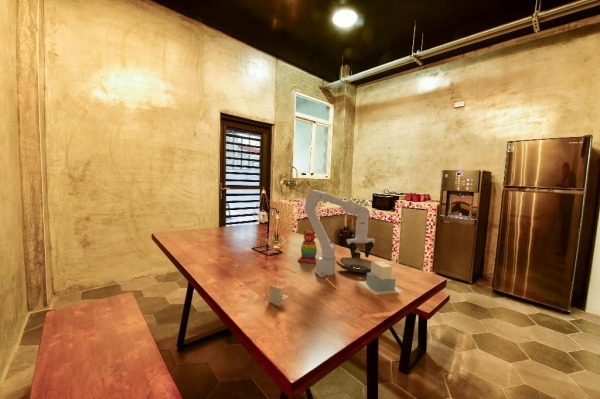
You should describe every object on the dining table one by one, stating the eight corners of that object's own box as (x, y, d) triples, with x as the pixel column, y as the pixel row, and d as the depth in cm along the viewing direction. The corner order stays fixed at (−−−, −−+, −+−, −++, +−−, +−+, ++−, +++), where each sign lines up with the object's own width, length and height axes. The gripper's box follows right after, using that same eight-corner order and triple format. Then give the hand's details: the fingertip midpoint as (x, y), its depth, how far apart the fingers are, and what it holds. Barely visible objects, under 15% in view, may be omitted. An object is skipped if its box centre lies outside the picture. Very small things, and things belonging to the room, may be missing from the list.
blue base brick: (377, 291, 112) (377, 280, 112) (366, 283, 121) (366, 272, 121) (394, 289, 115) (395, 278, 115) (382, 281, 124) (383, 271, 123)
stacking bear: (296, 262, 150) (298, 231, 148) (301, 257, 160) (303, 228, 158) (315, 264, 147) (316, 233, 145) (319, 259, 157) (320, 230, 155)
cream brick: (381, 279, 113) (382, 267, 113) (370, 273, 121) (371, 261, 120) (390, 278, 115) (391, 266, 114) (379, 272, 122) (380, 260, 122)
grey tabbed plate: (274, 299, 104) (275, 281, 103) (288, 305, 100) (288, 286, 99) (268, 302, 101) (269, 284, 101) (282, 308, 97) (283, 289, 97)
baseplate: (375, 297, 109) (375, 294, 109) (358, 283, 123) (358, 281, 123) (403, 294, 114) (403, 291, 113) (383, 281, 127) (384, 279, 127)
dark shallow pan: (328, 273, 135) (329, 258, 135) (349, 259, 160) (350, 246, 160) (370, 283, 123) (371, 268, 123) (386, 267, 149) (387, 254, 148)
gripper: (352, 232, 123) (350, 260, 124) (379, 232, 127) (377, 259, 128) (345, 229, 129) (344, 256, 130) (371, 229, 134) (369, 254, 135)
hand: (359, 257), depth 130 cm, fingers open, 7 cm apart
